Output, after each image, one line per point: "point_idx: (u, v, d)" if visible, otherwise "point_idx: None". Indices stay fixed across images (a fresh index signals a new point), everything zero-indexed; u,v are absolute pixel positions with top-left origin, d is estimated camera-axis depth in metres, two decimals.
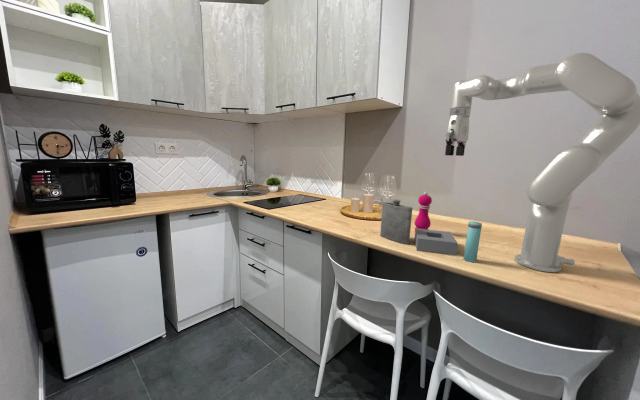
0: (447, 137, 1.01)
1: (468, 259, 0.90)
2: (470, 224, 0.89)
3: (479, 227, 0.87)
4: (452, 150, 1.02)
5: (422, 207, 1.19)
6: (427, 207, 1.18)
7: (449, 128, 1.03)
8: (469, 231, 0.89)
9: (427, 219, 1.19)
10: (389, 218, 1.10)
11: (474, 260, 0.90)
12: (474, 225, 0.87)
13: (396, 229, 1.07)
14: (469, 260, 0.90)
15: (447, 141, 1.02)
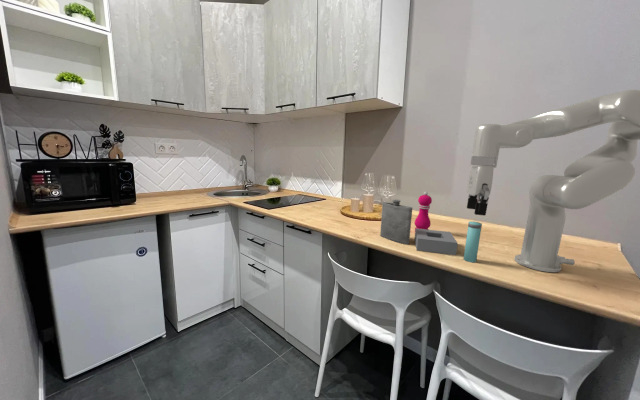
0: None
1: (468, 259, 0.90)
2: (470, 224, 0.89)
3: (479, 227, 0.87)
4: None
5: (422, 207, 1.19)
6: (427, 207, 1.18)
7: None
8: (469, 231, 0.89)
9: (427, 219, 1.19)
10: (389, 218, 1.10)
11: (474, 260, 0.90)
12: (474, 225, 0.87)
13: (396, 229, 1.07)
14: (469, 260, 0.90)
15: None
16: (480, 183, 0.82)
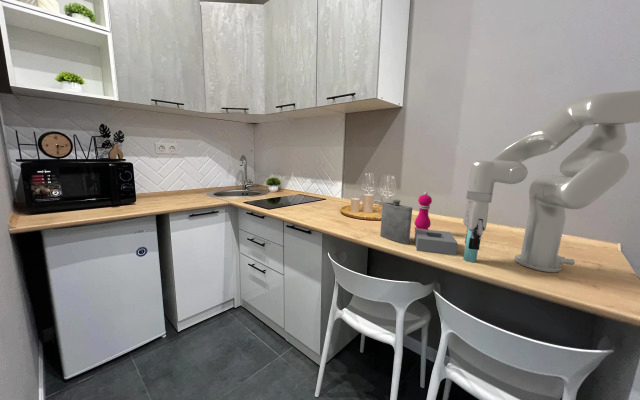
0: None
1: (468, 259, 0.90)
2: None
3: None
4: None
5: (422, 207, 1.19)
6: (427, 207, 1.18)
7: None
8: (469, 231, 0.89)
9: (427, 219, 1.19)
10: (389, 218, 1.10)
11: (474, 260, 0.90)
12: None
13: (396, 229, 1.07)
14: (469, 260, 0.90)
15: None
16: (476, 218, 0.84)
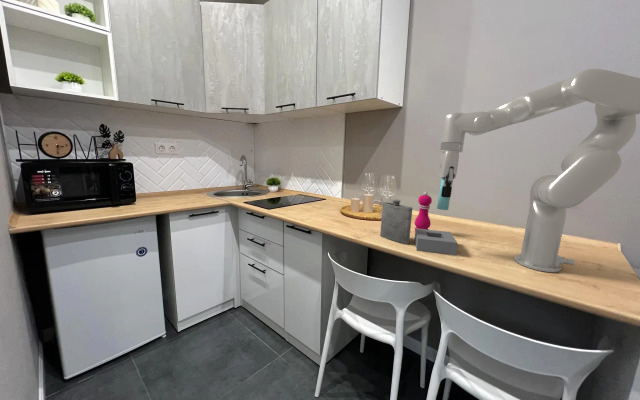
0: None
1: (441, 207, 0.97)
2: None
3: None
4: None
5: (422, 207, 1.19)
6: (427, 207, 1.18)
7: None
8: (441, 181, 0.96)
9: (427, 219, 1.19)
10: (389, 218, 1.10)
11: (446, 208, 0.97)
12: None
13: (396, 229, 1.07)
14: (441, 208, 0.97)
15: None
16: (447, 166, 0.91)
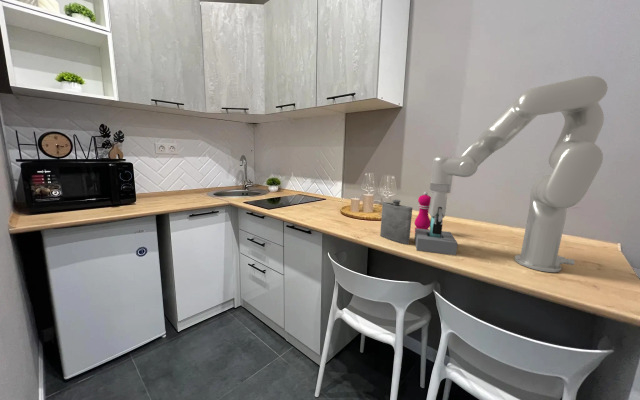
0: None
1: None
2: None
3: None
4: None
5: (422, 207, 1.19)
6: (427, 207, 1.18)
7: None
8: (431, 221, 1.02)
9: (427, 219, 1.19)
10: (389, 218, 1.10)
11: None
12: None
13: (396, 229, 1.07)
14: None
15: None
16: (436, 206, 0.96)
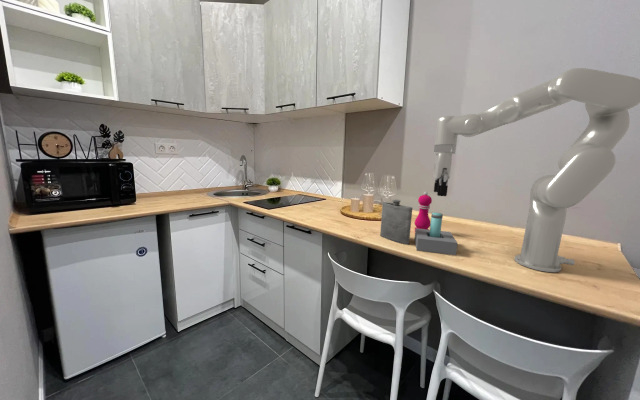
0: None
1: None
2: (432, 214, 1.01)
3: (440, 217, 1.00)
4: None
5: (422, 207, 1.19)
6: (427, 207, 1.18)
7: None
8: (431, 221, 1.02)
9: (427, 219, 1.19)
10: (389, 218, 1.10)
11: None
12: (435, 215, 1.00)
13: (396, 229, 1.07)
14: None
15: None
16: (441, 168, 0.94)
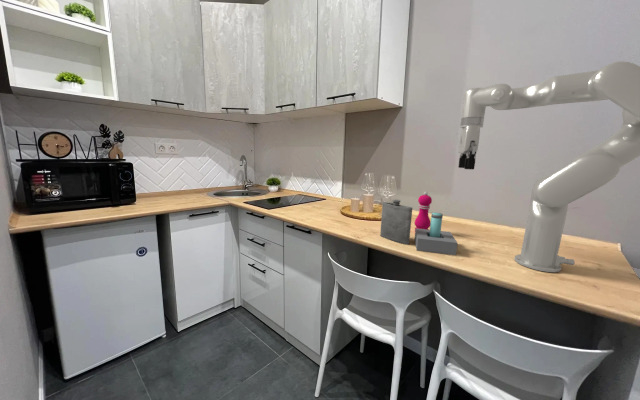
0: None
1: None
2: (432, 214, 1.01)
3: (440, 217, 1.00)
4: None
5: (422, 207, 1.19)
6: (427, 207, 1.18)
7: None
8: (431, 221, 1.02)
9: (427, 219, 1.19)
10: (389, 218, 1.10)
11: None
12: (435, 215, 1.00)
13: (396, 229, 1.07)
14: None
15: None
16: (468, 140, 0.93)
